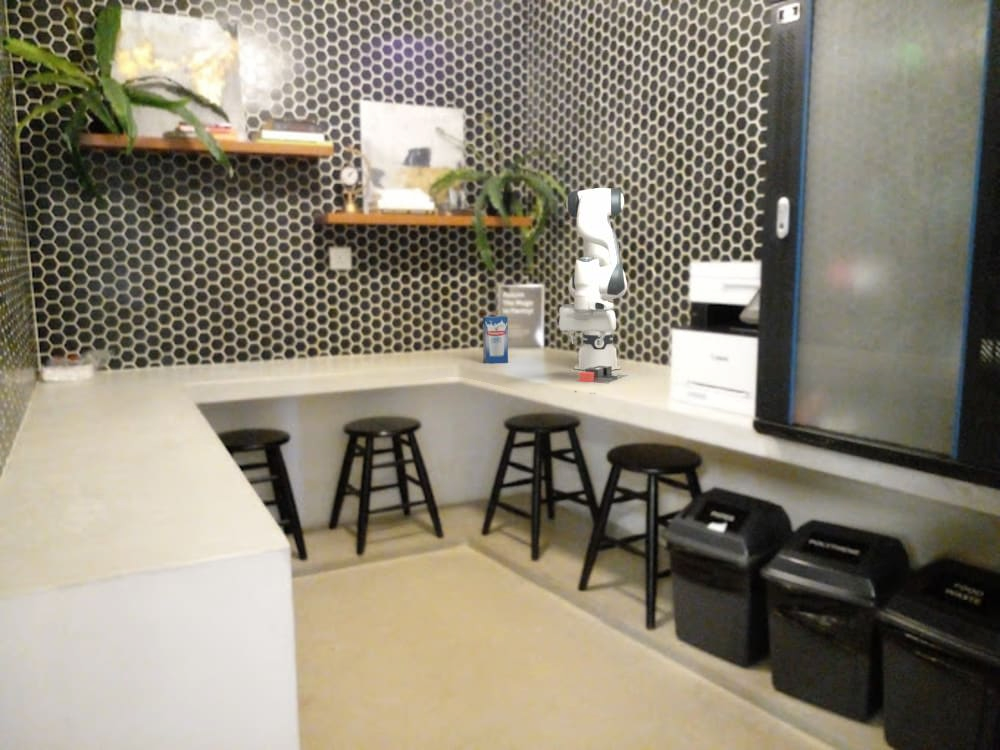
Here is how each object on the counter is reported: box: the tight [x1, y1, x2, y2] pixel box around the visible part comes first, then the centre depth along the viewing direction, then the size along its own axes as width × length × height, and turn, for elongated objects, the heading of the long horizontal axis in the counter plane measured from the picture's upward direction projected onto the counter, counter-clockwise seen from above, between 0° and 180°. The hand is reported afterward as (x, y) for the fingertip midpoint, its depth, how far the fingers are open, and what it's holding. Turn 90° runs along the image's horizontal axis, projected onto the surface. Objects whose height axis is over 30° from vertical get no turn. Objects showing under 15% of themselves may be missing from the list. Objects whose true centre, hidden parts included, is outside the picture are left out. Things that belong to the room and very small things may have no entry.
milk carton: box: [482, 315, 509, 364], centre depth 329 cm, size 10×6×20 cm, turn 101°
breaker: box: [584, 367, 603, 378], centre depth 268 cm, size 5×5×4 cm
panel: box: [576, 366, 629, 384], centre depth 270 cm, size 22×12×5 cm, turn 151°
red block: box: [578, 371, 594, 383], centre depth 263 cm, size 4×4×3 cm
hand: (586, 344), depth 261 cm, fingers open, 8 cm apart
